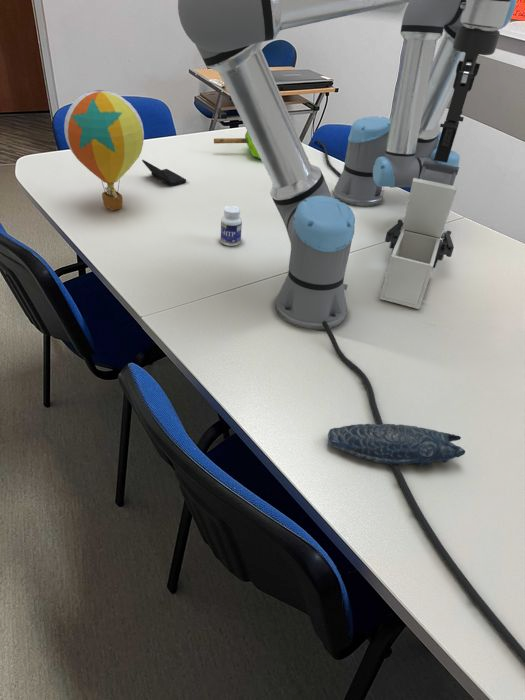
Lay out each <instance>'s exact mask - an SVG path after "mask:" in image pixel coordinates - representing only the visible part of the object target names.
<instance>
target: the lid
mask: <svg viewBox="0 0 525 700" xmlns="http://www.w3.org/2000/svg"><path fill="white" fill-rule="evenodd" d="M426 169H427V170H432V171H437V172H442V173H447V174H452V175H453V176H452V179H451V182H450V185H447V184H442V183H437V182H432V181H427V180H422V179H423V176H424V173H425V170H426ZM459 170H460V166H458V167H455V166H450V165H445V164H440V163H435V162H429V161H424V162H423V166H422V171H421V174H420V177H419V179H417V178H413V181H412V186H411V187H410V192H409V196H408V201H407V205H406V210H405V215H404V219H403V222H404V223H403V227H402V229H403V230H408V231H412V232H417V233H421V234H425V235H430V236H434V237H439V238H440V239H441V236H442V233H443V232H444V230H445V227H446V224H447V221H448V217H449V215H450V212H451V209H452V206H453V203H454V199H455V196H456V194H457V190H458V187H459V186H456V185H454V184H455V180H456V177H457V176H458V173H459Z"/></svg>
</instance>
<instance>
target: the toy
mask: <svg viewBox="0 0 525 700" xmlns="http://www.w3.org/2000/svg"><path fill="white" fill-rule="evenodd" d="M63 128H64V130H63V131H64V132H63V133H64V137H65V141H66V144H67V146H68V148H69V150H70V151H71V152H72V154H73V156H75V158H76V159H77V161H78V162H80V163H81V165H83V166H84V167H85V168H86V169H87V170H88V171H90V172H91V173H92V174H93V175H94V176H96V177H97V178H98V179H100V180H101V183H102V184H101V185H102V187H103V191H102V193H101V198H102V203H103V205H104V207H105V208H106V209H108V210H109V211H110V212H113V211H118V210H121V209H122V208H123V203H124V201H123V195H122V194H121V193H120V192H119V191H118V190H119V188H120V183H118V182H120V181H121V178H122V177H123V176H124V175H125V174H126V173H127V172H128V171H129V170H130V169H131V167H133V165H134V164H135V163H136V161H137V160H138V159H139V158H140V155H141V153H142V150H143V147H144V141H145V131H144V130H145V129H144V125H143V121H142V119H141V116H140V114H139V113H138V111H137V109H136V108H134V106H133V105H132V103H130V102H129V101H128V100H127V99H126V98H124V97H123V96H122V95H119V94H117V93H115V92H112V91H109V90H102V89H101V90H100V89H98V90H92V91H87V92H85V93H82V95H79V96H78V97H77V98H76V99H75V100H73V102H72V103H71V105H70V107H69V108H68V111H67V112H66V114H65V118H64V124H63ZM104 183H105V184H106V185H107V186H106V187H105V186H104ZM115 183H118V185H117V190H116V188H115Z"/></svg>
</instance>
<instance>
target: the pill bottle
mask: <svg viewBox="0 0 525 700" xmlns="http://www.w3.org/2000/svg"><path fill="white" fill-rule="evenodd" d="M242 227H243V219H242V217H241V208H240V207H238V206H235V205H227V206H225V207H224V209H223V215H222V216H221V219H220V242H221V243H222V244H223V245H226V246H229V247H231V246H232V247H234V246H238V245H239V244H240V243H241V241H242Z"/></svg>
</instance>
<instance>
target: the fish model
mask: <svg viewBox="0 0 525 700" xmlns="http://www.w3.org/2000/svg"><path fill="white" fill-rule="evenodd" d="M327 438H328V439H327V440H328V441H327V445H328V446H330V447H333V448H335V449H339V450H341V451H342V452H343V453H346V452H347V453H348V454H349V455H351V456H356V457H357V458H360V459H366V460H369V461H374V462H376V463H380V464H387V465H391V464H396V465H399V466H401V465H409V464H416V465H419V466H427V465H428V464H429V463H433V462H437V461H440V462H441V463H447V462H448V461H449V460H451V459H452V460H453V459H454V458H460V457H463V456H464V455H465V454H466V450H465V449H464V448H462V447H461V446H460V445H457V444H455V443H453V442H456V441H460V440H461V439H462V437H461V436H460V435H456V434H454V433H449V432H443V431H438V430H435V429H431V428H426V427H421V426H420V427H419V426H416V425H407V424H394V423H383V424H377V423H376V424H374V423H373V424H372V423H364V424H363V423H358V424H351V425H344V426H340V427H333V428H330V429H329V431H328V432H327Z"/></svg>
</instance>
